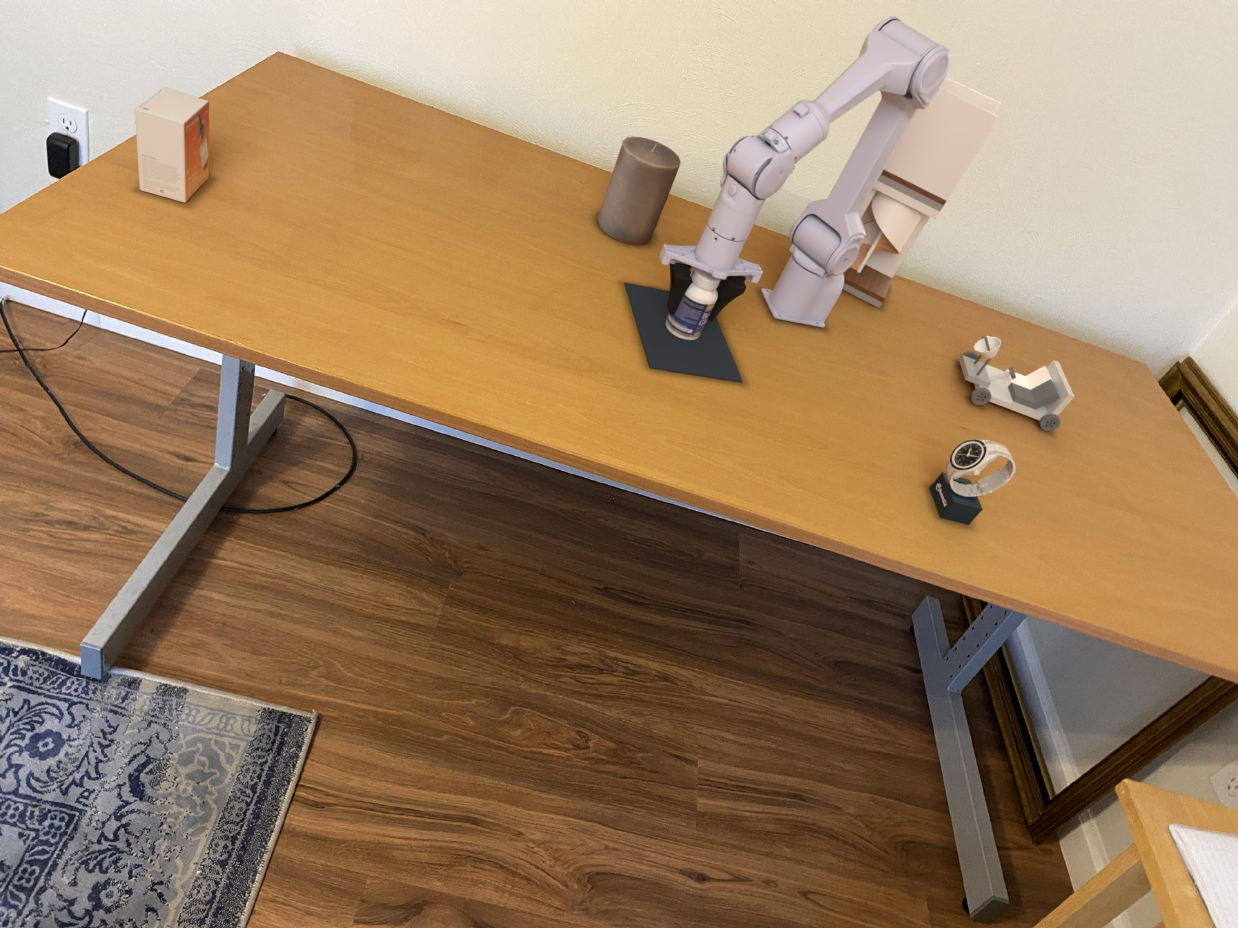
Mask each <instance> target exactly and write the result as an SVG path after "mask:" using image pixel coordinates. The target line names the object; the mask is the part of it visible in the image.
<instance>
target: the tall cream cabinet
mask: <svg viewBox="0 0 1238 928" xmlns="http://www.w3.org/2000/svg"><path fill="white" fill-rule="evenodd" d="M1001 105H1002V102H1001V101H998V100H997V99H994V98H992V97H990V96H988V95H985V94H984V93H981V92H979V91H977V90H975V89H973V88H971V87H969V86H967V85H965V84H963V83H961V82H958V81H956V80H955V79H952V78H950V77H948V76H946V77H945V79H944V81H943V83H942V84H941V86H940V88H939V89H938V91H937V93H936V95H935V96H934V98H933V100H932V101H931V102H930V104H929V106H928V107H927V109H918V111H917V112H916V114H915V116H914V118H913V119H912V121H911V123H910V125H909V126H908V128H907V130H906V131H905V133H904V135H903V137H902V138H901V140H900V142H899V144H898V145H897V147H896V149H895V151H894V152H893V154H892V156H891V157H890V159H889V161H888V163H887V164H886V166H885V168H884V170H883V171H882V173H881V175H880V177H879V178H878V180H877V182H876V183H875V185H874V187H873V189H872V190H871V192H870V194H869V196H868V197H867V199H866V201H865V203H864V204H863V206H862V208H861V209H860V211H859V214H860V218H861V221H862V224H863V226H864V229H865V233H866V235H865V237H864V239H863V241H862V243H861V246H860V248H859V253H858V256H857V258H856V260H855V261H854V263H853V264H852V265H851V266H850V268H849V269H847V270H846V271H845V272H844V273H843V274H844V285H843V289H842V291H845V292H847V293H849V294H850V295H853V296H854V297H856V298H859V299H861V300H863V301H864V302H867V303H869V304H871V305H873V306H874V307H876V308H878V309H880V307H881V306H882V305H883V303H884V301H885V300H886V297H887V294H888V292H889V288H890V285H891V284H892V283H891V282H892V279H893V278H894V276H895V275H896V273H897V271H898V270H899V268H900V266H901V265H902V263H903V262H904V260H905V258H906V257H907V255H908V253H909V252H910V250H911V249H912V247H913V246H914V244H915V242H916V241H917V239H918V237H919V236H920V234H921V233H922V232H923V229H924V228H925V227H926V225H927V224H928V222H929V220H930V219H931V218H932V219H934V220H936V219H937V217H939V216H938V215H939V214H940V212H941V211H942V210H943V208H944V206H945V205H946V203H947V201H948V200H949V199H950V196H951V195H952V194H953V192H954V191H955V189H956V187H957V186H958V184H959V182H960V181H961V179H962V178H963V176H964V174H965V173H966V171H967V170H968V168H969V167H970V165H971V163H972V162H973V161H974V159H975V157H976V155H977V154H978V153H979V151H980V149H981V148H982V146H983V145H984V143H985V141H986V140H987V138H988V136H989V135H990V134H991V132H992V131H993V129H994V127H995V125H997V122H998V121H999V119H1000V115H997V114H996V113H997V112H998V110H999V108H1000V107H1001Z"/></svg>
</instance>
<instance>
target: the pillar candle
mask: <svg viewBox="0 0 1238 928" xmlns="http://www.w3.org/2000/svg"><path fill="white" fill-rule="evenodd" d="M680 167H681V159H680V156H679V155H678V154H677V153H676V152H675V151H674V150H672V148H670V147H668V146H667V145H664V144H663V143H661V142H659V141H656V140H654V139H650V138H648V137H647V138H646V137H642V136H634V135H632V136H626V137H625V138H624V139H623V140H622V142H621V147H620V149H619V153H618V156H617V159H616V161H615V164H614V168H613V170H612V172H611V176H610V179H609V182H608V185H607V188H606V191H605V194H604V197H603V200H602V204H601V206H600V209H599V212H598V215H597V223H598V225H599V227H600V229H601V230H602V231H603V232H604V233H605V234H606V235H608V236H609V237H611V238H612V239H614V240H617V241H619V242H622V243H625V244H630V245H643V246H644V245H647V244H650V243H651V242H652V239H653V236H654V233H655V231H656V228H657V226H658V223H659V220H660V218H661V215H662V213H663V210H664V208H665V205H666V203H667V201H668V198H669V194H670V192H671V190H672V187H673V185H674V182H675V179H676V177H677V175H678V172H679V169H680Z"/></svg>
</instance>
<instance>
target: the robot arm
mask: <svg viewBox="0 0 1238 928" xmlns="http://www.w3.org/2000/svg"><path fill="white" fill-rule="evenodd" d="M951 64H952V61H951V51H950V49H949V48H948V47H947V46H945V45H944V44H943V45H941V44H939V43H937V42H936V41H935V40H932V39H931V38H929V37H927V36H926V35H924V34H923V33H921V32H919V31H917V30H916V29H914V28H913V27H911V26H909V25H908V24H906V23H905V22H903V21H902V20H901V19H900V18H898V17H897V16H895V15H894V16H893V15H892V16H888V17H885V18H884V19H883V20H881V21H880V22H879V23H878V24H877V25H875V26H874V28H873V29H872V30H871V31H869V32H868V34H867V35H866V36H865V39H864V41H863V43H862V46H861V48H860V52H859V55H858V57H857V58H856V59H855V60H854V61H853V62H852V63H851V64H849V66H848V67H847V68H846V69H845V70H844V71H842V72H841V74H839V75H838V77H837V78H835V79H834V80H833V81H832V82H831V84H829V85H828V86H827V87H826V88H825V89H824V90H823V91H822V92H821V93H819V95H818V96H817V97H816V98H815V99H814V100H812V99H801V100H799V101H797V102H796V103H795V104H793V106H791V107H790V108H789V109H788V110H786V111H785V112H783V113H782V114H781V115H780V116H779V117H778V118H776V119H775V120H774V121H773V122H772V123H770V124H769V125H768V126H767V127H765V128H764V129H763V130H762V131H760V132H759V133H758V134H757V135H756V134H752V135H744V136H742V137H740V138H738V139H737V140H736V141H735V142H734V143H733V144H732V145H731V147H730V148H729V150H728V152H726V153H725V154H724V156H723V159H722V171H723V172H722V175H721V177H720V178H721V179H720V181H719V186H720V188H721V189H720V191H719V193H718V196H717V198H716V199H715V200H716V201H715V203H714V205H713V208H712V210H711V212H710V215H709V217H708V219H707V221H706V224H705V226H704V228H703V230H702V233H701V235H700V237H699V239H698V242H697V244H696V245H670V244H665V243H664V244H663V245H662V248H661V249H660V253H659V255H658V258H659V260H660V262H661V265H664V266H669V291H670V292H669V298H668V303H667V308H668V311H669V313H670V314H675V312H676V311H677V309H678V306H679V304H680V302H681V299H682V297H683V295H684V294H685V292H686V290H687V289H688V288H689V286H690V285H691V284H692V283H693V281H692V278H691V274H692V270H691V269H694V268H695V269H700V270H703V271H706V272H708V273H711V274H712V276H713V277H714V278H718V279H721V280H720V283H719V285H718V287H717V288H716V290H717V293H718V298H717V301H716V303H715V305H714V307H713V309H712V311H711V313H710V315H709V318H708V321H711V322H712V321H713V319H714V318H715V317H717V316H718V315H719V314H720V313H721V311H723V309H724V308H725V307H727V306H728V305H729V304H730V303H731V302H732V301H733V300H735V299H736V298H738V297H740V296H742V295H743V294H745V292H746V289H747V284H746V283H745V282H746V280H748V281H749V282H750V283H752V284H756V285H758V283H759V281H760V280H761V277H762V276H763V274H764V271H763V270H762V267H761V266H760V264H758V263H754V262H752V261H748V260H745V259H742V258H741V257H740V254H741V252H742V250H743V248H744V246H745V244H746V242H747V240H748V238H749V235H750V233H751V231H752V229H753V227H754V226H755V223H756V221H757V218H758V216H759V214H760V212H761V211H762V209H763V206H764V204H765V202H766V199H769V198H770V197H772V196H773V195H774V194H777V193H778V192H779V191H780V190H781V189H782V187H783V186H784V184H785V183H786V181H787V179H788V178H789V176H790V175H791V174H792V173H793V172H794V170H795V169H796V164H797V163H799V161H800V160H802V159H803V158H805V157H806V156H807V155H808V154H810V153H811V152H812V151H813V150H814V149H815V148H816V147H818V146H819V145H820V144H822V142H824V141H825V140H826V139H827V138H828V137H829V133H830V126H831V124H832V123H833V122H835V121H836V120H838V119H839V118H841V117H842V116H844V115H845V114H847V113H848V112H849V111H851V110H852V109H854V108H855V107H857V106H858V105H859V104H861V103H863V102H864V101H865V100H867V99H868V98H870V97H872V96H873V95H874V94H875V93H877V92H878V91H879V92H880V95H881V98H880V101H879V103H878V104H877V106H876V108H875V109H874V112H873V114H872V116H870V119H869V121H868V123H867V125H866V127H865V129H864V130H863V132H862V134H861V136H860V138H859V139H858V141H857V143H856V145H855V147H854V149H853V150H852V152H851V154H850V156H849V157H848V160H847V162H846V163H845V165H844V167H843V169H842V171H841V173H840V174H839V177H838V178H837V180H836V182H835V184H834V185H833V187H832V189H831V191H830V193H829V195H828V196H827V198H823V199H817V200H813V201H811V202H809V203H808V204H807V206H806V208H805V209H804V210H803V212H802V213H801V215H799V217H798V218H797V219H795V221H794V223H793V224H792V226H791V229H790V231H789V236H788V241H789V244H791V246H790V247H789V249H788V251H789V252H790V253H791V254H790V256H789V258H788V260H787V262H786V264H785V265H784V268H783V270H782V272H781V273H780V276H779V277H778V279H777V281H776V283H775V285H774V287H773V289H768V288H761V289H760V293H761V295H762V296H763V299H764V301H765V303H766V305H767V306H768V309H769V311H770V313H771V315H772V317H773V318H774V319H775V320H781V321H785V322H790V323H791V322H792V323H797V324H801V325H806V326H812V327H817V328H822V329H824V328H825V327H826V324H825V322H826V320H827V318H828V316H829V315H830V313H831V311H832V310H833V308H834V307H835V304H836V303H837V301H838V300H839V298H840V296H841V294H842V292H843V285H844V274H843V273H844V272H845V271H846V270H847V269H849V268H850V266H851V265H852V264H853V263H854V261H855V260H856V258H857V256H858V253H859V248H860V246H861V243H862V241H863V239H864V237H865V235H866V233H865V229H864V226H863V224H862V221H861V218H860V214H859V211H860V209H861V208H862V206H863V204H864V203H865V201H866V199H867V197H868V196H869V194H870V192H871V190H872V189H873V187H874V185H875V183H876V182H877V180H878V178H879V177H880V175H881V173H882V171H883V170H884V168H885V166H886V164H887V163H888V161H889V159H890V157H891V156H892V154H893V152H894V151H895V149H896V147H897V145H898V144H899V142H900V140H901V138H902V137H903V135H904V133H905V131H906V130H907V128H908V126H909V125H910V123H911V121H912V119H913V118H914V116H915V114H916V112H917V111H918V109H927V107H928V106H929V104H930V102H931V101H932V100H933V98H934V96H935V95H936V93H937V91H938V89H939V88H940V86H941V84H942V83H943V81H944V79H945V77H948V74H949V73H950V69H951V68H952V65H951Z"/></svg>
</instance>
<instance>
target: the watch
mask: <svg viewBox="0 0 1238 928" xmlns="http://www.w3.org/2000/svg"><path fill="white" fill-rule="evenodd" d="M998 456H1000V457H1003V458H1006V459H1007V460H1006V464H1005V465H1004V466H1003V467H1001V469H997V470H995V471H993V472H992V473H990V474H989V475H987V476H985V477H983V478H980V479H978V480H976V483H973V482H972V480H971V479H969V478H965V476H973V475H974V476H979V475H980V474H981V472H982V471H983V470H984V469H985V468H986V467H987V466H988V464H990V463H991V462H993V461H995V460H997V459H998ZM1016 466H1017V465H1016V462H1015V460H1014V458H1013V455H1012V454H1011V452H1010V450H1009V448H1008V447H1007V446H1006V445H1004V444H1002V443H1001V442H998V441H993V440H989V439H978V438H971V439H967V440H965V441H962V442H960V443H959V444H957V445H956V446H955V447H954V448H953V449H952V451H951V452H950V455H949V457H948V459H947V460H946V465H945V471H944V472H942V471H941V473H940V474H939V475H938V476H937V478H936V479H935V480H934V481H933V482H932V484H931V485H930V486H929V487H928V488H929V491H930V494H931V497H932V500H933V502H934V505H935V508H936V511H937V513H938V516H939V518H940V519H944V520H948V521H952V522H956V523H959V524H963V525H966V526H969V525H971V523H972V522H973V521H974V520H975V519H976V518H977V516H978V515H980V513H981V512H982V511H983V509H984V508H983V506H982V503H981V501H980V499H979V497H980V496H981V497H984V496H987V495H989V494H992V493H994V492H996V491H997V490H999V489H1001V488H1003V487H1005V485H1007V484H1008V483H1010V482H1009V481H1010V480H1011V479H1012V478H1013V477H1014V474H1015V473H1016V468H1017V467H1016Z"/></svg>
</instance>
